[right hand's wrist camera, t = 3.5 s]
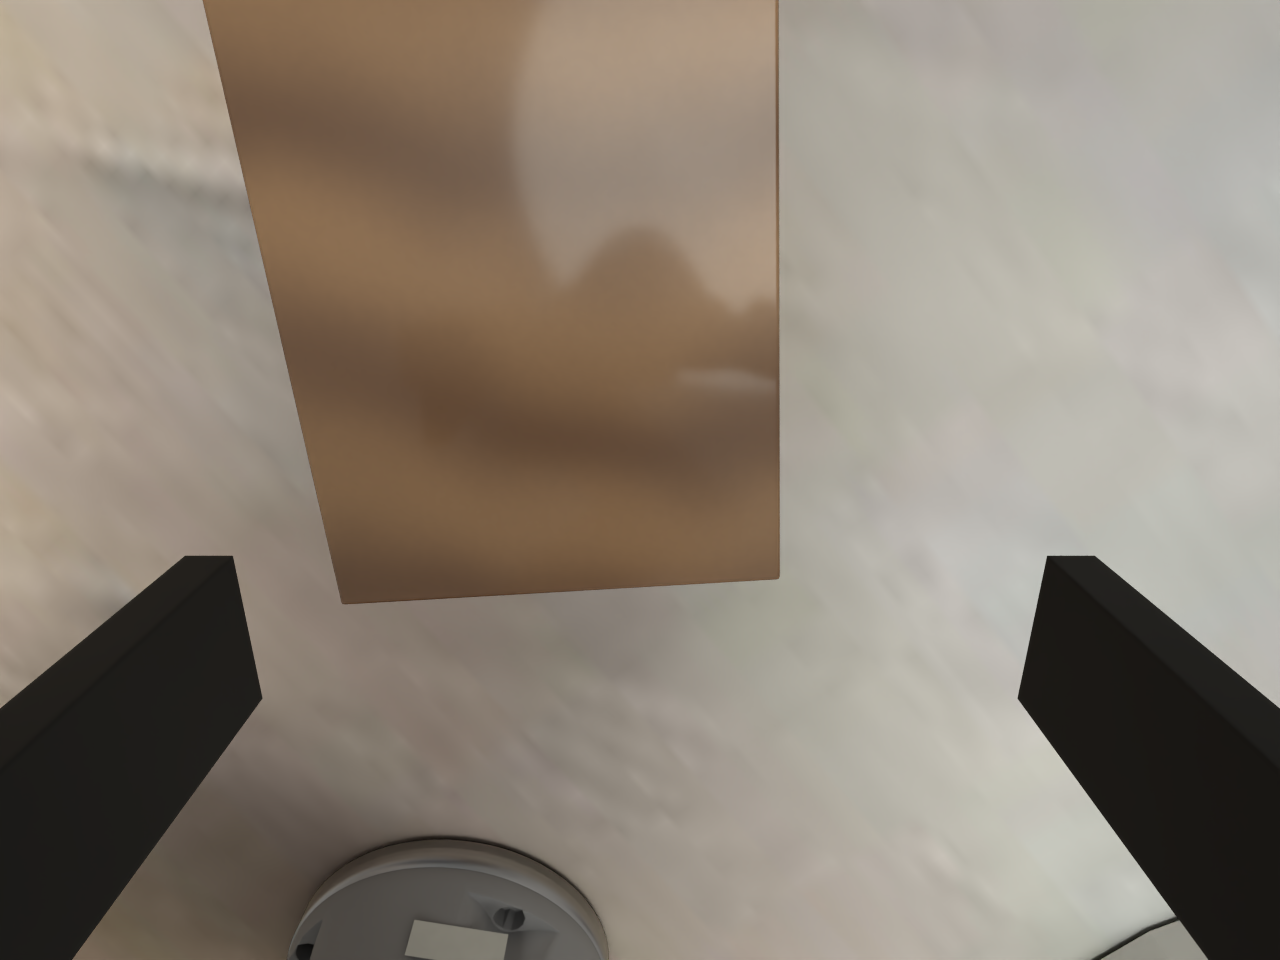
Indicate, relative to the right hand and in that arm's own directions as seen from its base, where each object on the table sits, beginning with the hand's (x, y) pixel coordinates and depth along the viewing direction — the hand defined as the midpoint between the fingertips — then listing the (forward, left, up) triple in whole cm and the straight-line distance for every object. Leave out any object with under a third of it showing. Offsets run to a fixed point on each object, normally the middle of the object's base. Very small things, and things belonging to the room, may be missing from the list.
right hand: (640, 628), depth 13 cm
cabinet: (-1, +8, -17) cm, 19 cm away
